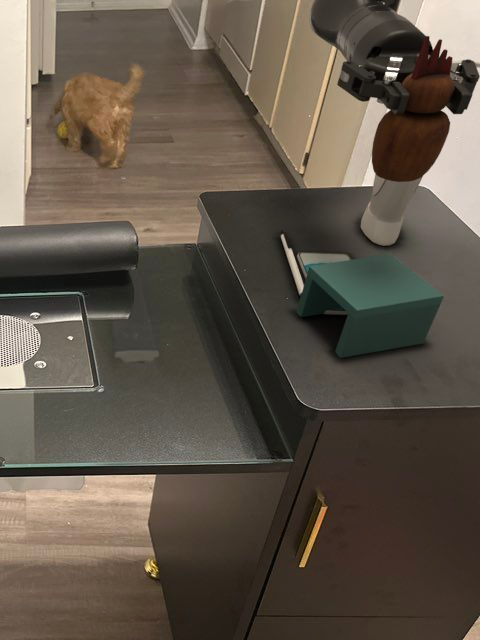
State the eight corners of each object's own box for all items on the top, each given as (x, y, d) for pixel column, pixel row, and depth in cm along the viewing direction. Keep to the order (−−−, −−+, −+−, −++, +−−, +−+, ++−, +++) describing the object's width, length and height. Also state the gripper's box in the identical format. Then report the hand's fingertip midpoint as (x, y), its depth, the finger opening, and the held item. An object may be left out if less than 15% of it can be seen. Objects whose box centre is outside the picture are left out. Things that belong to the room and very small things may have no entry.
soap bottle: (424, 254, 103) (495, 78, 87) (365, 250, 105) (424, 76, 89) (408, 212, 113) (470, 46, 97) (354, 209, 114) (406, 45, 99)
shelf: (373, 299, 96) (390, 253, 91) (423, 343, 88) (444, 295, 84) (295, 312, 94) (309, 266, 90) (340, 358, 87) (357, 310, 82)
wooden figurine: (367, 186, 80) (413, 42, 71) (359, 163, 85) (402, 25, 75) (435, 189, 79) (492, 43, 69) (423, 166, 83) (476, 26, 73)
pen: (284, 234, 110) (286, 227, 109) (308, 305, 95) (310, 298, 95) (278, 233, 110) (280, 227, 109) (301, 305, 96) (303, 297, 95)
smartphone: (348, 253, 104) (379, 312, 93) (346, 258, 105) (377, 318, 93) (296, 251, 105) (320, 310, 94) (294, 256, 105) (318, 315, 94)
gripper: (330, 20, 85) (369, 67, 72) (463, 17, 83) (526, 65, 70) (314, 85, 90) (347, 140, 77) (439, 84, 88) (494, 141, 75)
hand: (432, 104), depth 74 cm, fingers closed on wooden figurine, 5 cm apart
